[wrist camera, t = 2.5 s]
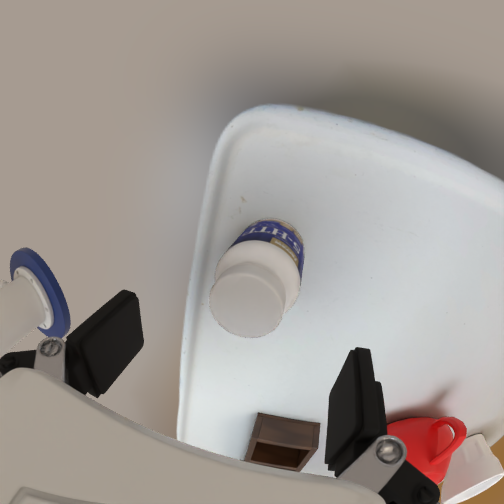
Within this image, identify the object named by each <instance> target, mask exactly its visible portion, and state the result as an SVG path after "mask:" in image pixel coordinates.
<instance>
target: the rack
mask: <svg viewBox="0 0 504 504" xmlns="http://www.w3.org/2000/svg"><path fill="white" fill-rule="evenodd" d="M319 433H320V423H314V422H307V421H300V420H294V419H288V418H282V417H277V416H272V415H267V414H262V413H258V415H257V418H256V422H255V425H254V429H253V432H252V436H251V439H250V443H249V446H248V449H247V453H246V456H245V459H244V461H245V462H249V463H254V464H258V465H263V466H268V467H273V468H278V469H283V470H289V471H295V472H300V471H301V470H302V468H303V467H304V466H305V465H306V463H307V462H308V461H309V460H310V458H311V457H312V456H313V454H314V453H315V452H316V451H317V449H318V445H319Z"/></svg>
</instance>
